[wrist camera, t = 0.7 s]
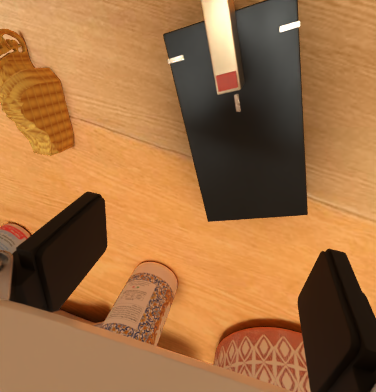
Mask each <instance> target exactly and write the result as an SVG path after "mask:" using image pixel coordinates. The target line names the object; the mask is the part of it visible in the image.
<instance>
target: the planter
mask: <svg viewBox="0 0 376 392" xmlns="http://www.w3.org/2000/svg"><path fill="white" fill-rule="evenodd" d="M214 365H216V366H219V367H222V368H225V369H228V370H231V371H234V372H237V373H240V374H243V375H246V376H249V377H252V378H255V379H258V380H261V381H264V382H267V383H270V384H273V385H276V386H279V387H281V388H284V389H287V390H290V391H293V392H311V391H310V385H309V378H308V371H307V365H306V358H305V351H304V344H303V337H302V333H299V332H295V331H291V330H287V329H282V328H276V327H257V328H249V329H244V330H240V331H237V332H234V333H232V334H230V335H228V336H227V337H226V338H224V339H223V340H222V341H221V342H220V343H219V345H218V347H217V349H216V353H215V359H214Z"/></svg>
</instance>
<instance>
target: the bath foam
mask: <svg viewBox="0 0 376 392" xmlns="http://www.w3.org/2000/svg"><path fill="white" fill-rule="evenodd" d="M177 285H178V284H177V279H176V277H175V275H174V274H173V272H172V271H171V270H170V269H168V268H167V267H166V266H164V265H161V264H159V263H156V262H145V263H142V264H140V265H138V266H137V267H136V268H135V270H134V272H133V273H132V275H131V277H130V278H129V280H128V282H127V283H126V285H125V287H124V288H123V290H122V292H121V294H120V295H119V297H118V299H117V300H116V302H115V304H114V305H113V307H112V309H111V311H110V312H109V314H108V316H107V317H106V319H105V321H104V323H103V324H102V326H101V328H102V329H105V330H108V331H111V332H114V333H117V334H121V335H124V336H127V337H130V338H133V339H136V340H139V341H142V342H145V343H148V344H151V345H155V346H157V344H158V341H159V338H160V335H161V332H162V330H163V327H164V324H165V321H166V318H167V316H168V313H169V310H170V307H171V304H172V302H173V299H174V296H175V293H176V290H177Z"/></svg>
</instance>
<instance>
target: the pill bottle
mask: <svg viewBox="0 0 376 392" xmlns="http://www.w3.org/2000/svg"><path fill="white" fill-rule="evenodd" d="M29 237H30V234H29V233H28V232H27V231H26V230H25V229H24V228H22V227H20V226H18V225H16V224H11V223H10V224H5V225H3V226H1V227H0V250H5V251H8V252H10V253H11V254H12V253H13V252H15V251H16V247H17V246H19V245H20V244H21V243H22V242H24V241H25V240H26V239H28V238H29Z"/></svg>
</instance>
